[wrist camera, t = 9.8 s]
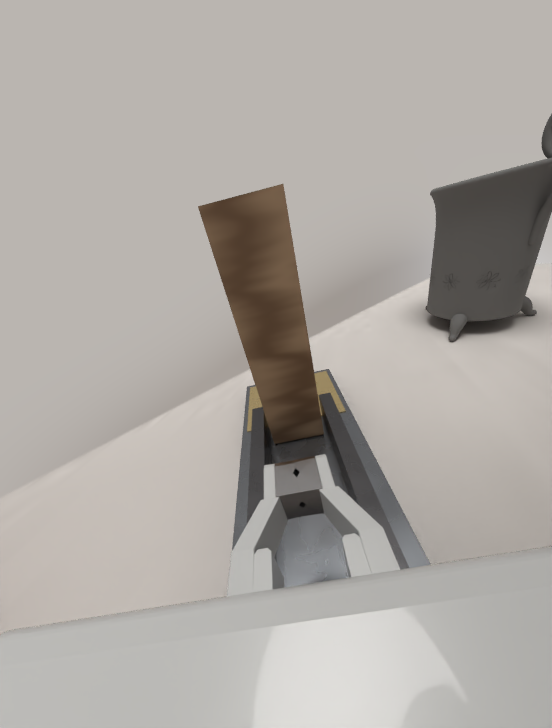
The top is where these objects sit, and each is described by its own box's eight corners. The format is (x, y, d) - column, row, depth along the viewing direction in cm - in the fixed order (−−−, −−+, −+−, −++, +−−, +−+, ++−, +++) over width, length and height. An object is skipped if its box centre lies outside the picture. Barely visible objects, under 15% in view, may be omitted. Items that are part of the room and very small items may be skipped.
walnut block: (312, 396, 28) (276, 199, 18) (324, 433, 22) (283, 183, 13) (271, 405, 28) (215, 215, 18) (274, 444, 23) (197, 206, 13)
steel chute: (329, 374, 33) (326, 350, 31) (466, 645, 11) (484, 620, 9) (248, 392, 34) (241, 369, 32) (226, 681, 12) (197, 664, 10)
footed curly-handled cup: (392, 319, 44) (397, 153, 32) (458, 299, 46) (487, 132, 34) (494, 360, 28) (581, 54, 16) (593, 326, 29) (741, 22, 17)
